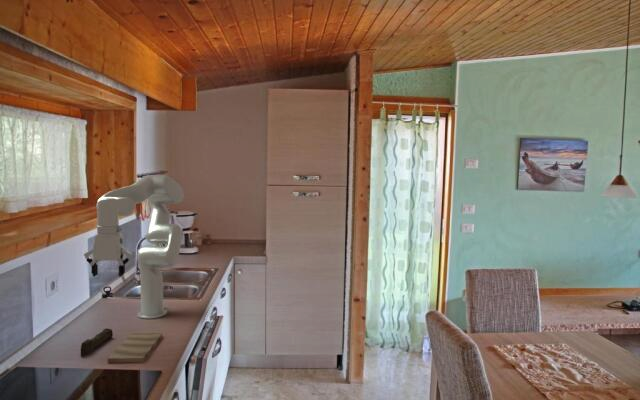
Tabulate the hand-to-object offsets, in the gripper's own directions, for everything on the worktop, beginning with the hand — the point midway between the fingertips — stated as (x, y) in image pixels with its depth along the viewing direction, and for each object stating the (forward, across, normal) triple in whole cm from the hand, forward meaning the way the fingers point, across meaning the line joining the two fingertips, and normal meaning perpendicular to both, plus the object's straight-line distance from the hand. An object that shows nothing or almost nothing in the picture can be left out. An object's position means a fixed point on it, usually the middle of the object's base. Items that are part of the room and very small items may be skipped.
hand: (108, 275), depth 181 cm
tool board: (+26, -12, +6) cm, 30 cm away
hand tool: (+27, +3, +3) cm, 27 cm away
